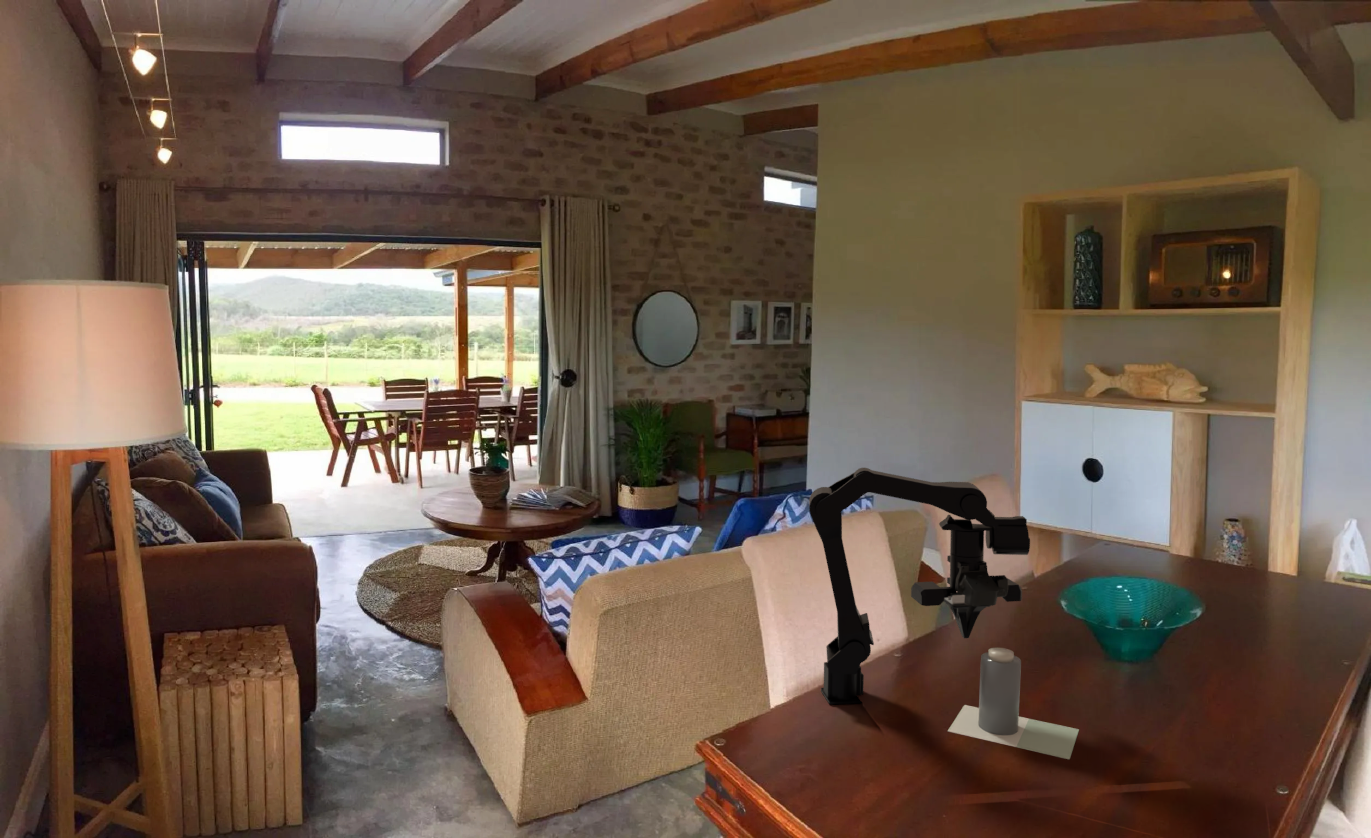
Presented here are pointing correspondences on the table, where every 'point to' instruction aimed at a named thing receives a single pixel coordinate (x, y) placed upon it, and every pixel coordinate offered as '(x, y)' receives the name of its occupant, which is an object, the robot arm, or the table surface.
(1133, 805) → the table surface
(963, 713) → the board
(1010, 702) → the jar
